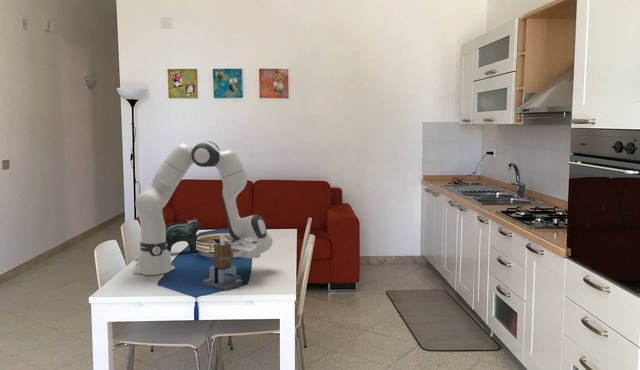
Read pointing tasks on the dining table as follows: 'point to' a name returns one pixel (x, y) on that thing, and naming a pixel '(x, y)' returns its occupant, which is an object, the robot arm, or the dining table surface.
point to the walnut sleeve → (222, 255)
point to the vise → (223, 275)
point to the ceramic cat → (183, 234)
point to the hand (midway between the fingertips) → (224, 253)
